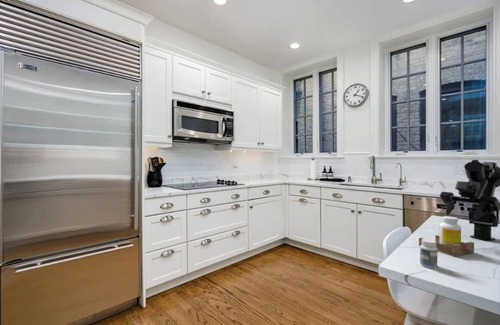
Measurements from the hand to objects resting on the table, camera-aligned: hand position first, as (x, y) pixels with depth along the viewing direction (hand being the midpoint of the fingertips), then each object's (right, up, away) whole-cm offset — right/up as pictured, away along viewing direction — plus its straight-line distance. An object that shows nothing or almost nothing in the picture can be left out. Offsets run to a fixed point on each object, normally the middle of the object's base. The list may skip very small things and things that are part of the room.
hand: (460, 216), depth 102 cm
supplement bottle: (-6, -13, -3) cm, 14 cm away
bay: (-7, -13, -1) cm, 14 cm away
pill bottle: (-24, -13, -17) cm, 32 cm away
